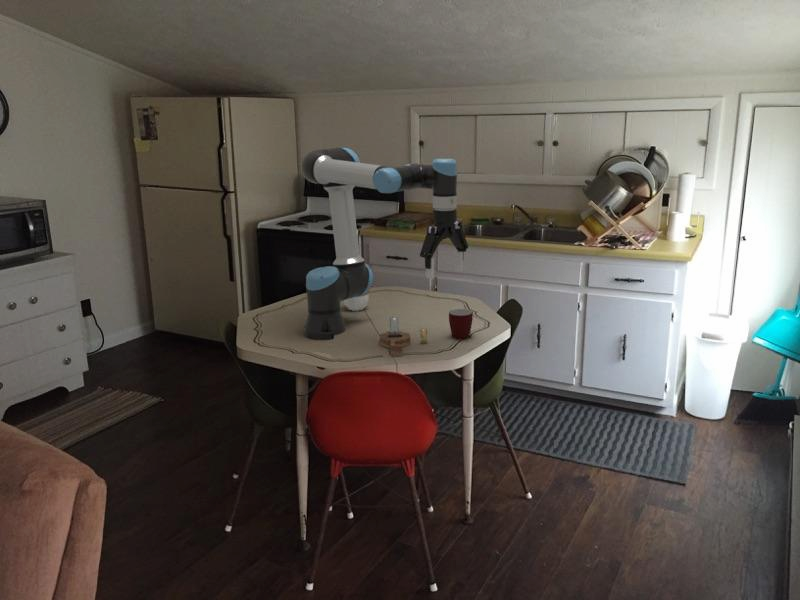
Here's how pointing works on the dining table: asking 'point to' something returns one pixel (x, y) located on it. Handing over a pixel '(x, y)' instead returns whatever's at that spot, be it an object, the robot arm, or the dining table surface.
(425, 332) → the dowel
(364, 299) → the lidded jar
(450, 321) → the mug
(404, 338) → the flange lever
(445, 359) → the dining table surface
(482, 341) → the dining table surface
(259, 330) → the dining table surface
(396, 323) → the post
